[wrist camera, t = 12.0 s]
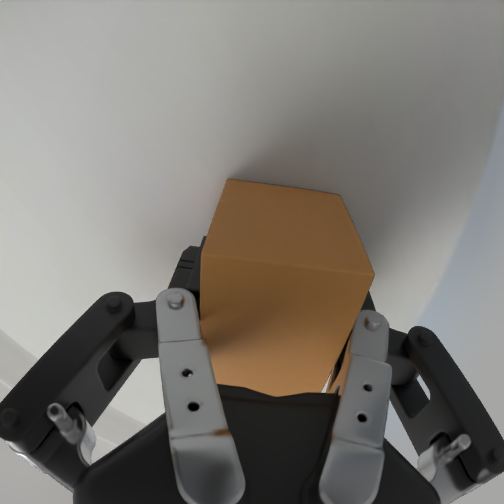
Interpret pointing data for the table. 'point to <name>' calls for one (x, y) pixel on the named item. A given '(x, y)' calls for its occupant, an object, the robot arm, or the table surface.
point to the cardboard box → (280, 286)
